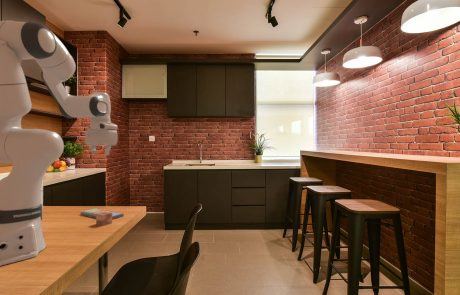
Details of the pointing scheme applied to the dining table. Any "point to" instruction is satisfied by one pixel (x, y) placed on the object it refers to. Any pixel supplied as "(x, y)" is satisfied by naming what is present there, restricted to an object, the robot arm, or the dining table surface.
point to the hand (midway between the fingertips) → (100, 154)
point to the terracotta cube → (104, 218)
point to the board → (95, 211)
